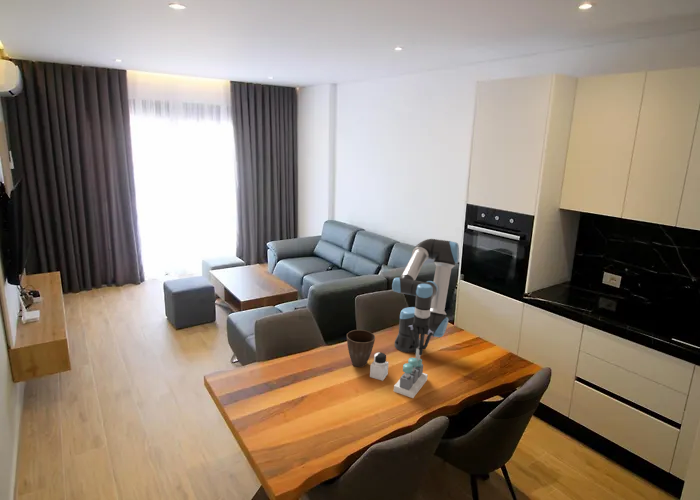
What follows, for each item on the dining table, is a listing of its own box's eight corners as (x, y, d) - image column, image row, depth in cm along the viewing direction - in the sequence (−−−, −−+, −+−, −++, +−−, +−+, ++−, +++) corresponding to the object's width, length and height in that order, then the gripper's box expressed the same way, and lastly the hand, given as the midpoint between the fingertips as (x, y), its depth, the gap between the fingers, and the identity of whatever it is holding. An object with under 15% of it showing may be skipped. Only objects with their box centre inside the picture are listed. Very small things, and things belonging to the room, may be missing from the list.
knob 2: (405, 374, 209) (407, 360, 207) (409, 370, 213) (410, 356, 211) (414, 377, 207) (416, 363, 205) (418, 373, 210) (419, 359, 209)
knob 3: (410, 374, 215) (411, 360, 213) (413, 370, 219) (414, 356, 217) (418, 377, 213) (420, 363, 211) (422, 373, 217) (423, 359, 215)
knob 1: (400, 380, 203) (401, 366, 201) (404, 376, 207) (405, 362, 205) (409, 384, 201) (410, 369, 199) (413, 379, 205) (414, 365, 203)
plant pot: (352, 354, 239) (354, 327, 235) (377, 361, 233) (379, 333, 228) (340, 366, 226) (341, 338, 222) (366, 373, 220) (368, 345, 215)
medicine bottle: (387, 374, 220) (389, 353, 217) (382, 381, 214) (384, 359, 211) (374, 370, 223) (376, 349, 220) (369, 377, 217) (371, 355, 214)
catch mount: (393, 391, 206) (394, 376, 203) (408, 373, 222) (410, 359, 220) (413, 398, 201) (414, 383, 199) (427, 379, 217) (428, 365, 215)
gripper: (406, 315, 208) (402, 359, 214) (432, 321, 202) (427, 366, 208) (412, 310, 214) (408, 353, 220) (437, 316, 208) (432, 360, 214)
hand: (417, 359), depth 214 cm, fingers closed
